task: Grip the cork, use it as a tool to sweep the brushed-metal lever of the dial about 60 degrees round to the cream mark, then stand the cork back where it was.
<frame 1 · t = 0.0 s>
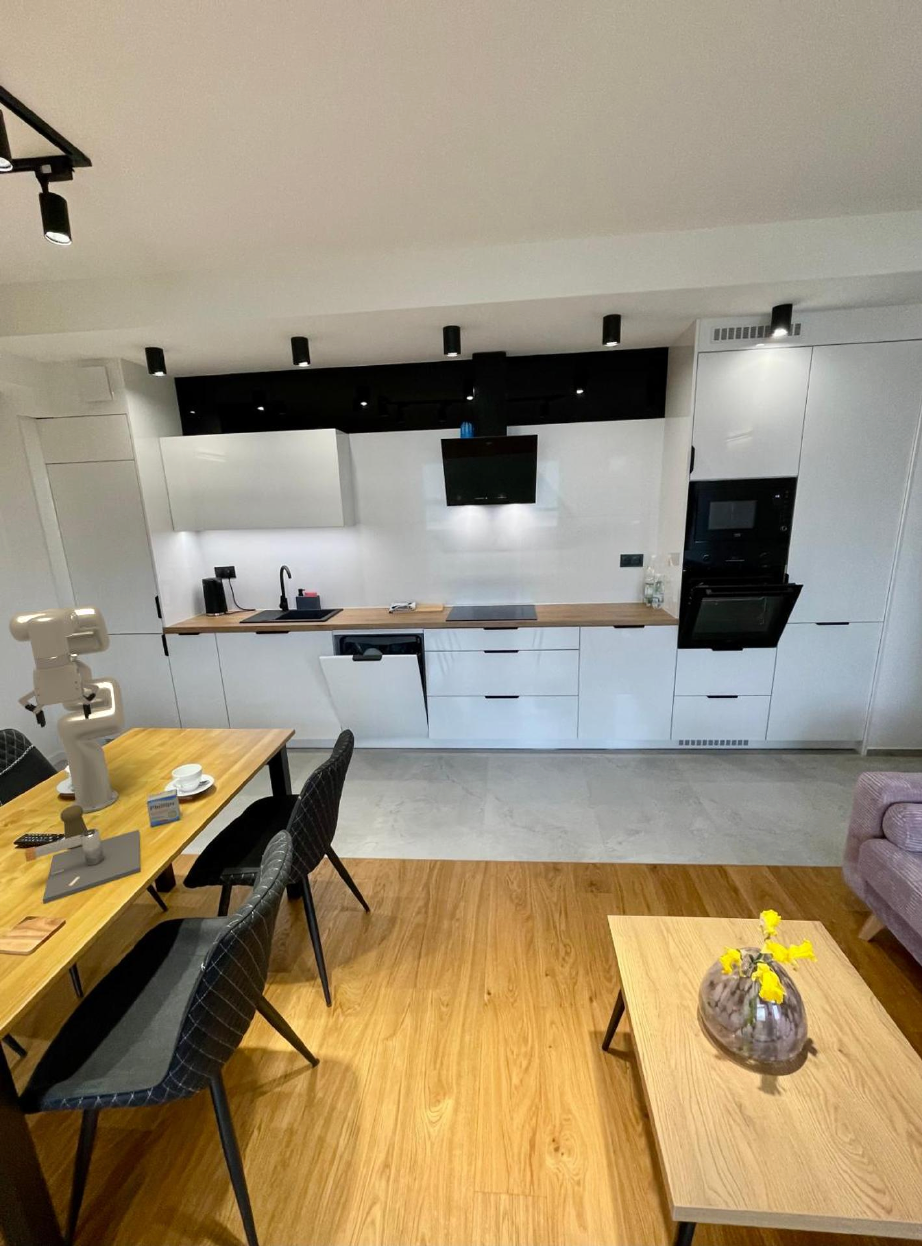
hand: (65, 721, 140), 37 cm above the table, tool pointing down, fingers open, 9 cm apart
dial: (66, 853, 133), point 6 cm above the table, hinge at 0.0°
dial plate: (96, 865, 137), on the table
cork: (78, 843, 147), on the table
medicine box: (166, 821, 157), on the table
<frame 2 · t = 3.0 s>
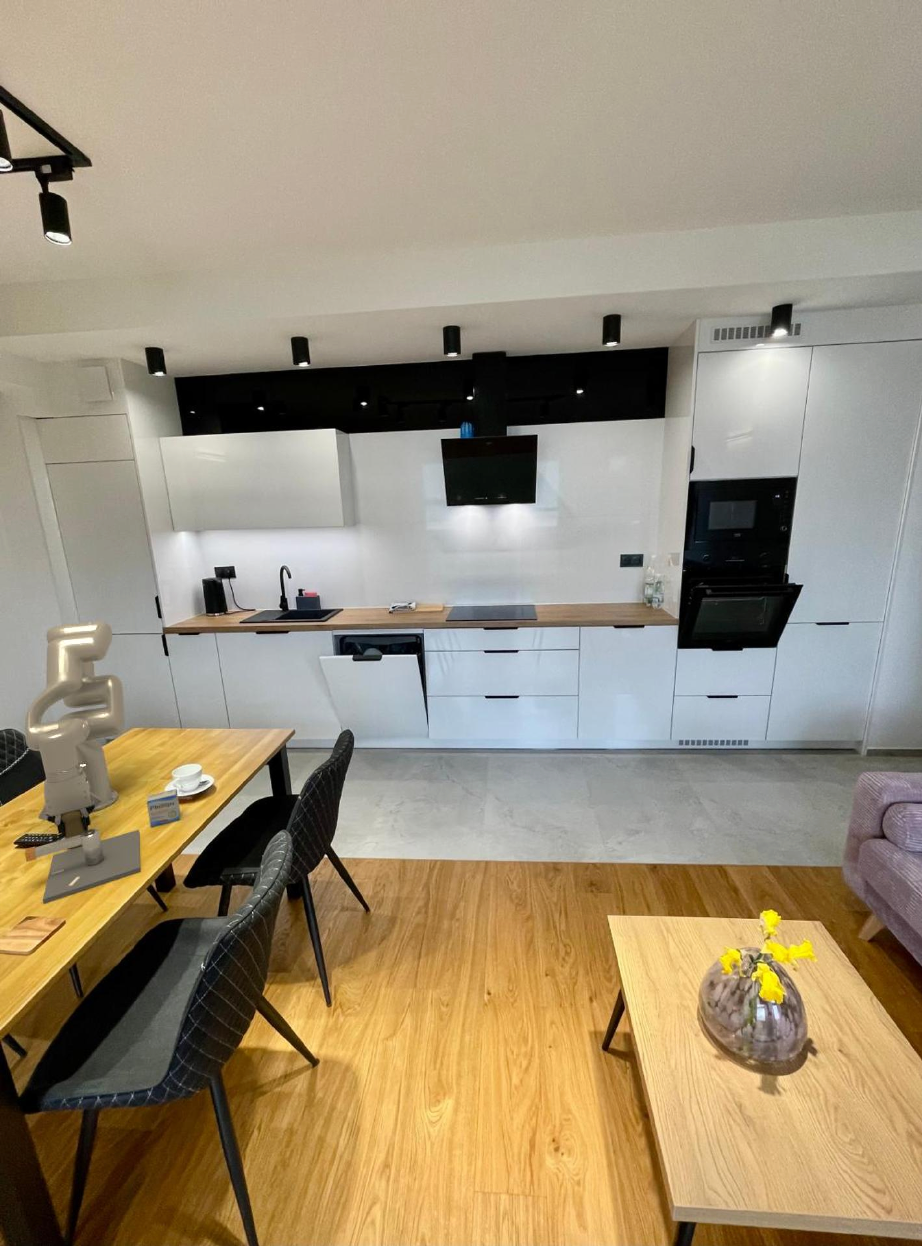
hand: (75, 830, 146), 4 cm above the table, tool pointing down, fingers closed on cork, 4 cm apart
cork: (78, 843, 147), on the table, touching gripper
everything else where it was.
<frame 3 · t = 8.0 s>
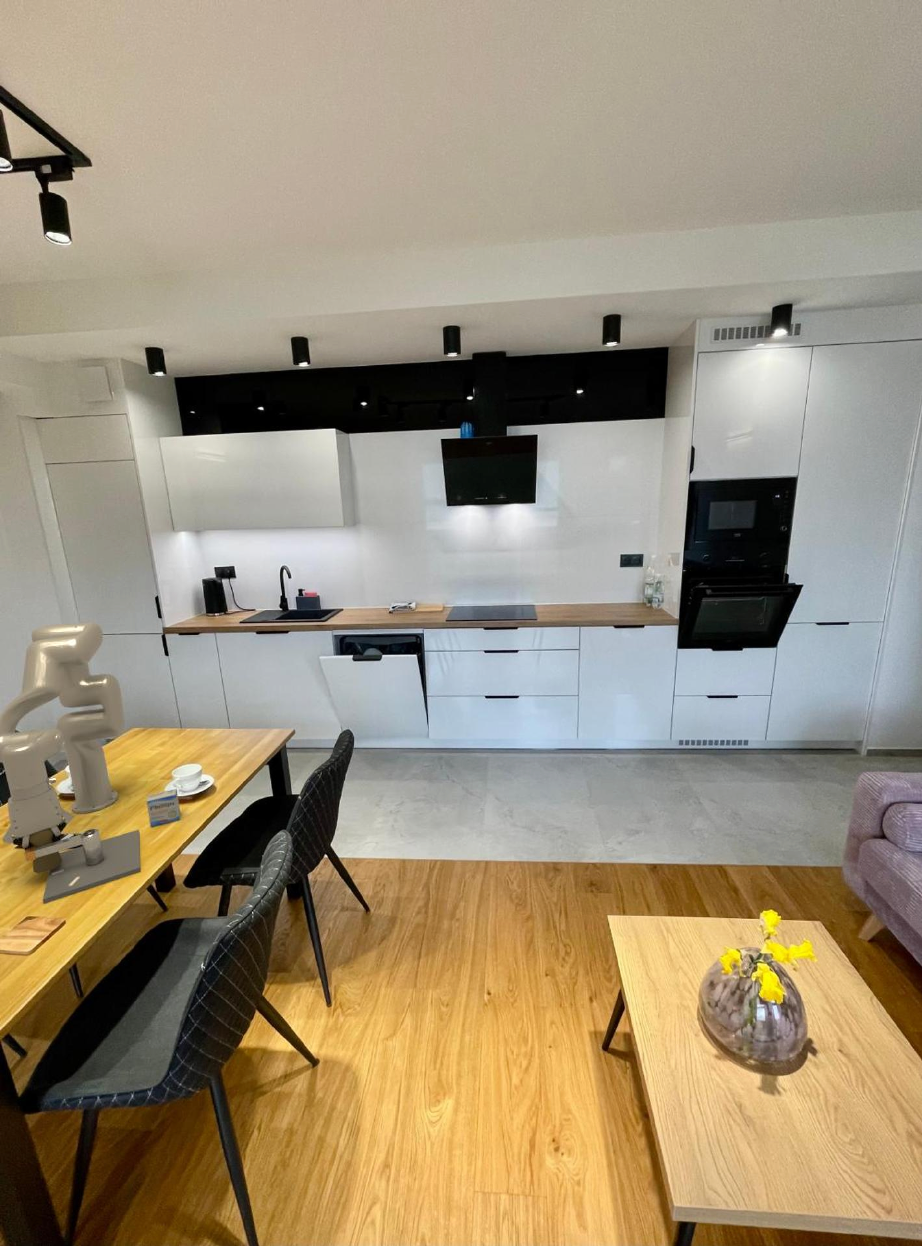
hand: (44, 852, 133), 6 cm above the table, tool pointing down, fingers closed on cork, 4 cm apart
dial: (66, 853, 133), point 6 cm above the table, hinge at 0.0°, touching gripper
cork: (48, 866, 134), point 2 cm above the table, touching gripper
everything else where it was.
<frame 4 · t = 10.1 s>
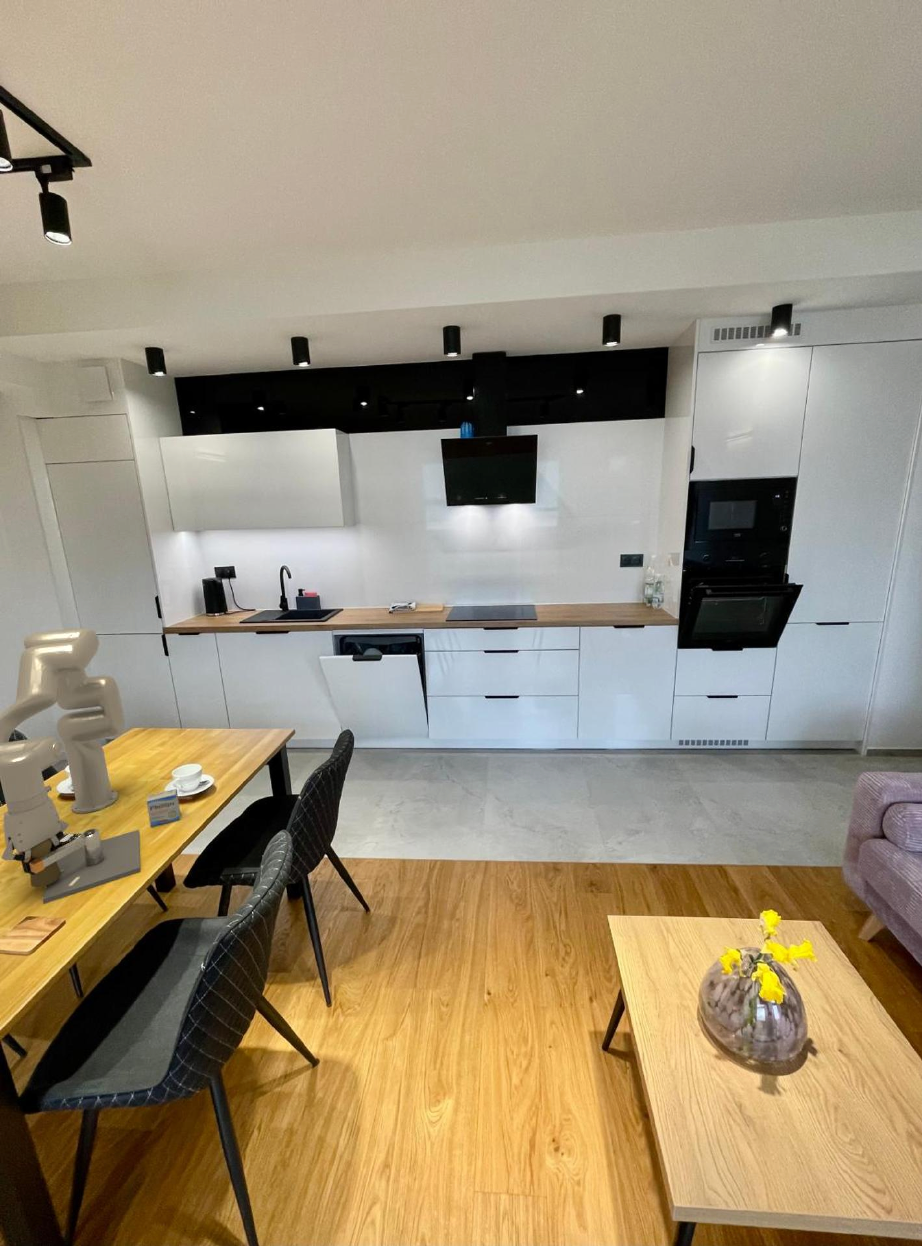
hand: (42, 865, 128), 6 cm above the table, tool pointing down, fingers closed on cork, 4 cm apart
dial: (69, 859, 131), point 6 cm above the table, hinge at 32.7°, touching gripper
cork: (46, 879, 129), point 2 cm above the table, touching gripper
everything else where it was.
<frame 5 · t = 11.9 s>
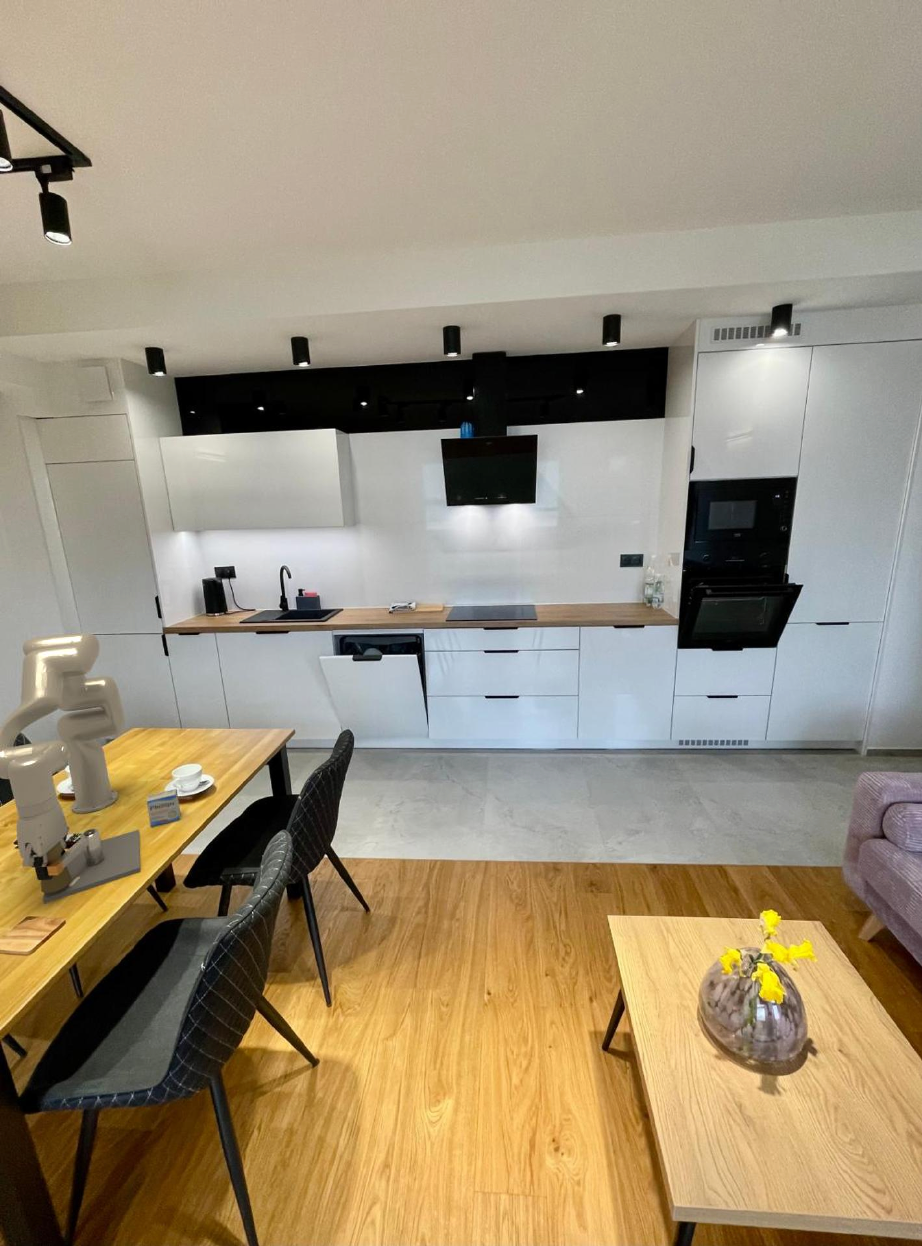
hand: (53, 871, 126), 6 cm above the table, tool pointing down, fingers closed on cork, 4 cm apart
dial: (77, 860, 131), point 6 cm above the table, hinge at 58.9°, touching gripper, cork
cork: (57, 885, 127), point 2 cm above the table, touching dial, gripper
everything else where it was.
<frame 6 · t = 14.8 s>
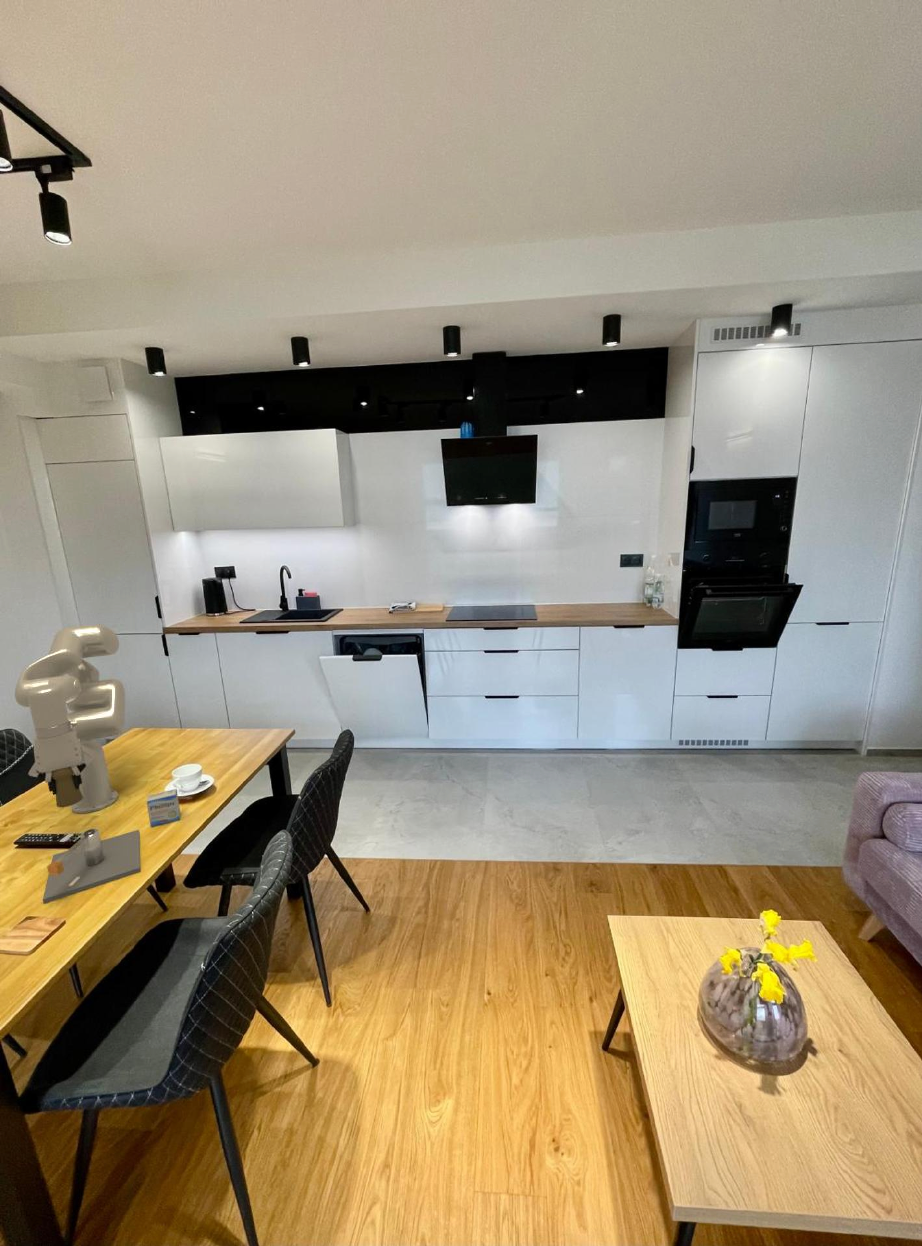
hand: (66, 789, 144), 17 cm above the table, tool pointing down, fingers closed on cork, 4 cm apart
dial: (77, 860, 131), point 6 cm above the table, hinge at 59.1°
cork: (70, 801, 145), point 13 cm above the table, touching gripper
everything else where it was.
when the fingers open (5 cm above the table, at t = 17.6 s): cork stays where it is, on the table.
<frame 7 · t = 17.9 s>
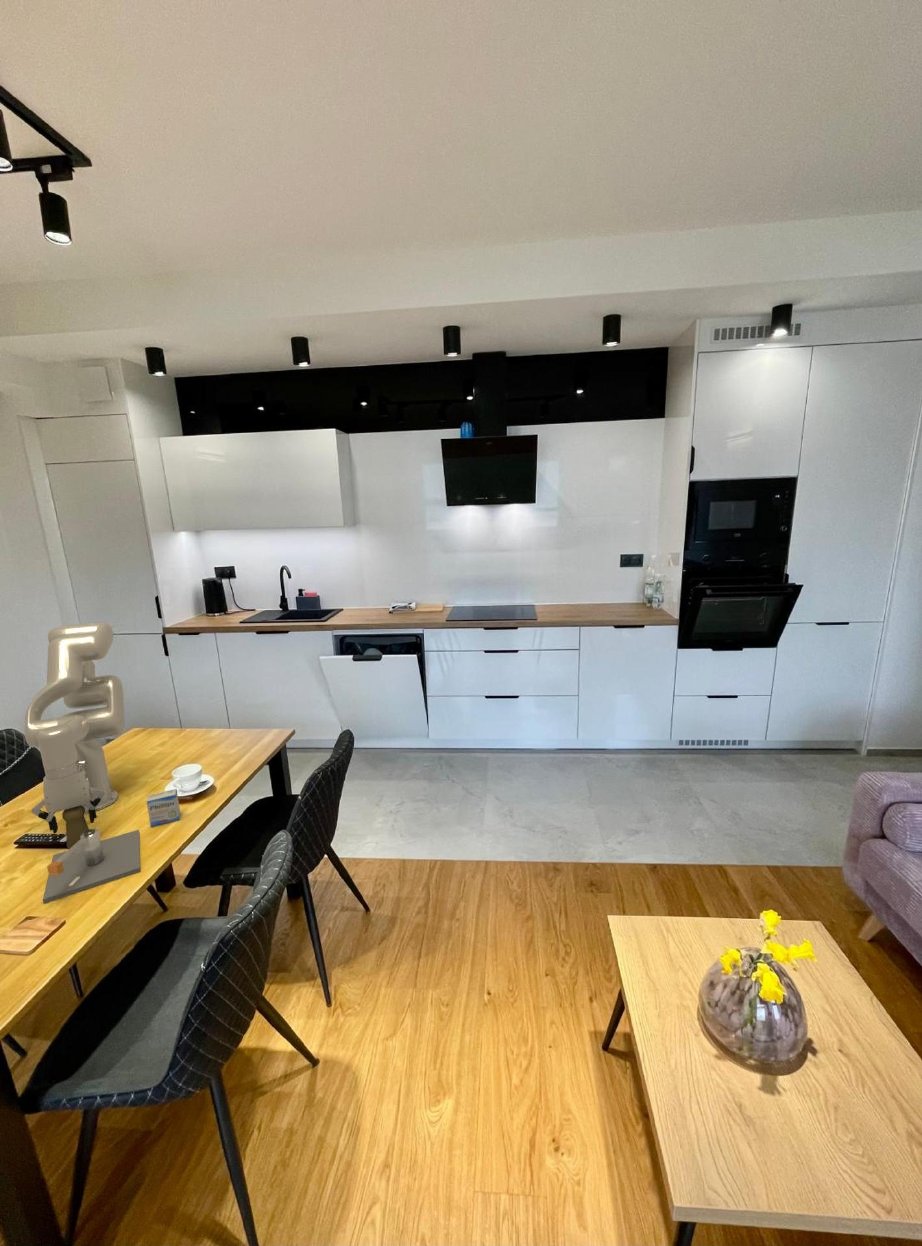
hand: (74, 825, 146), 5 cm above the table, tool pointing down, fingers open, 8 cm apart
cork: (80, 842, 148), on the table
everything else where it was.
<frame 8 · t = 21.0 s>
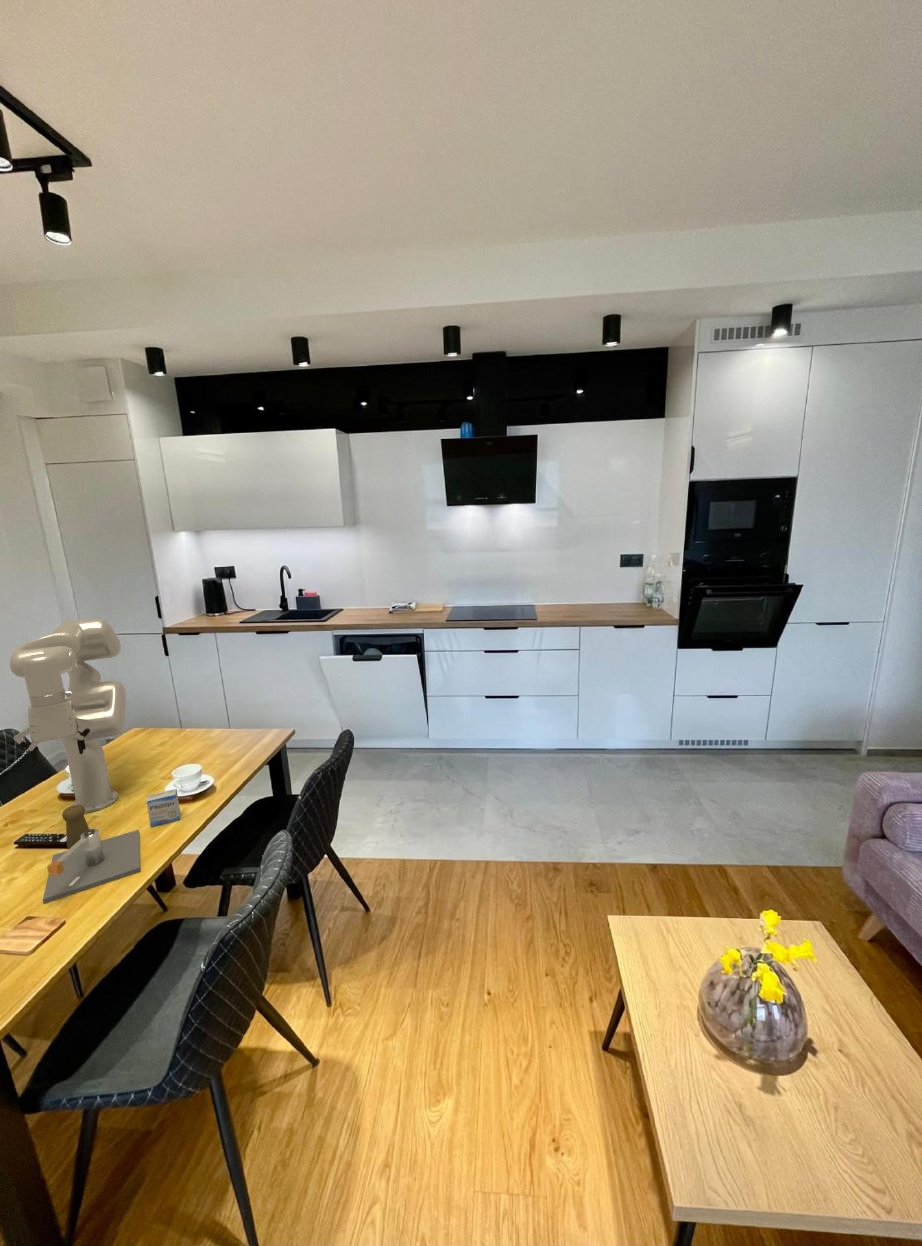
hand: (60, 757, 142), 26 cm above the table, tool pointing down, fingers open, 9 cm apart
nothing on the table moved.
at the end: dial at +59° (first picture: +0°); cork tilted 0°; cork inside the target area (0.4 cm from its centre), on the table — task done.
